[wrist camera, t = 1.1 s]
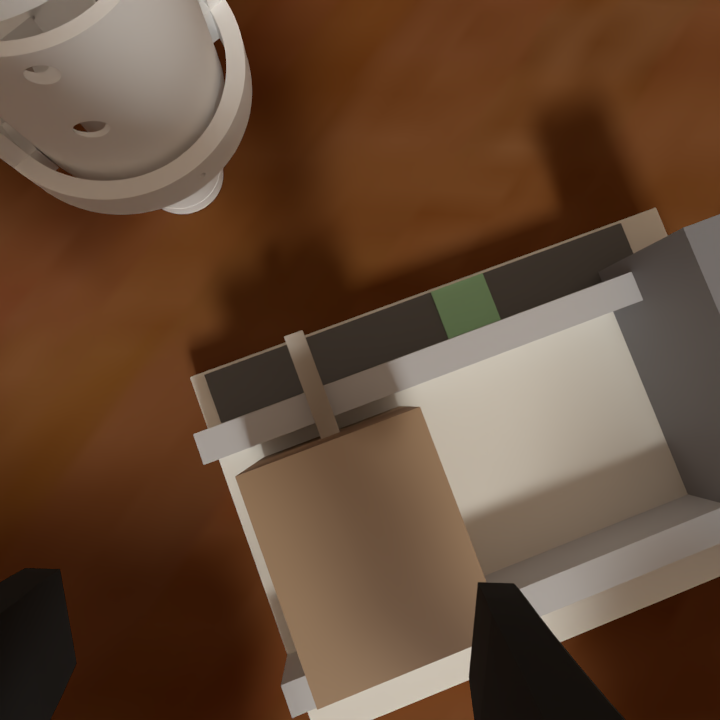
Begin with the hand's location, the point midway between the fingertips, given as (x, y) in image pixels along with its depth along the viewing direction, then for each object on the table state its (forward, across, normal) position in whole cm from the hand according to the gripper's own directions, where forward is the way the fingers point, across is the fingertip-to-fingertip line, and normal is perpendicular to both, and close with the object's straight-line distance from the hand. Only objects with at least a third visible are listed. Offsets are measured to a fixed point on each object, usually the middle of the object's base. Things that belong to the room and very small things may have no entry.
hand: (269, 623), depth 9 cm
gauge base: (+11, -6, +2) cm, 12 cm away
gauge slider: (+9, -1, +2) cm, 9 cm away
